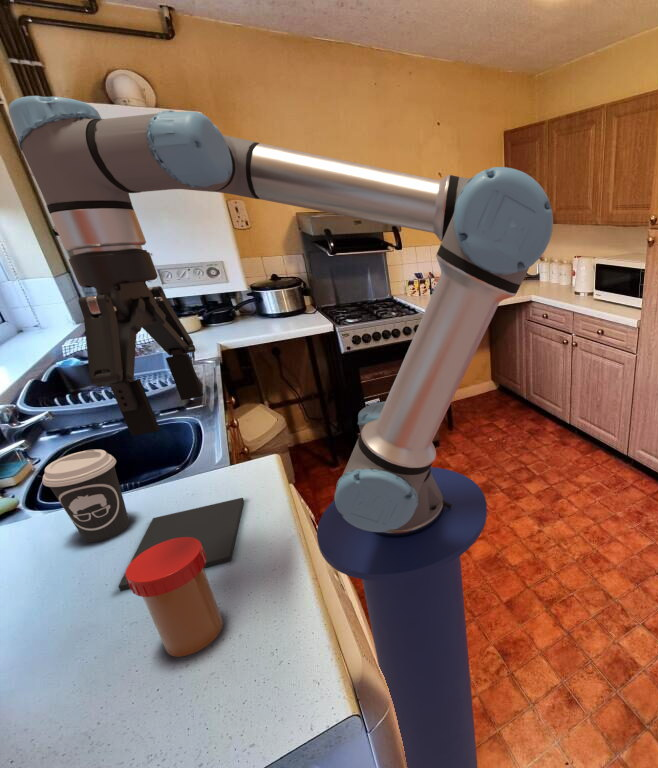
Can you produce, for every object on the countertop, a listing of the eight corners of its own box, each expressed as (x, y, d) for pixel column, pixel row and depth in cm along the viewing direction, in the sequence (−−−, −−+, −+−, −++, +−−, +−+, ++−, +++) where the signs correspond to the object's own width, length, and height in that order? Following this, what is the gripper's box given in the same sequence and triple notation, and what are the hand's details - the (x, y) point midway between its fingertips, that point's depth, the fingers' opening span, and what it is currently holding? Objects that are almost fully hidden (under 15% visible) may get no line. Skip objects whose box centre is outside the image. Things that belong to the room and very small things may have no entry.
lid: (211, 543, 61) (207, 529, 60) (200, 584, 55) (194, 569, 54) (142, 561, 58) (136, 547, 58) (121, 606, 52) (114, 591, 51)
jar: (226, 607, 65) (201, 537, 60) (218, 645, 59) (190, 571, 54) (173, 624, 62) (142, 552, 57) (159, 664, 57) (125, 589, 52)
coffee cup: (152, 516, 85) (126, 449, 80) (102, 551, 76) (68, 478, 71) (112, 511, 87) (83, 445, 81) (58, 545, 78) (21, 473, 72)
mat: (244, 501, 89) (242, 497, 88) (230, 560, 73) (229, 556, 73) (154, 522, 83) (152, 517, 83) (120, 591, 68) (118, 586, 68)
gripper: (129, 253, 63) (181, 391, 70) (-20, 255, 40) (78, 460, 47) (187, 247, 65) (232, 382, 71) (76, 246, 42) (158, 445, 48)
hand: (171, 413), depth 59 cm, fingers open, 13 cm apart
